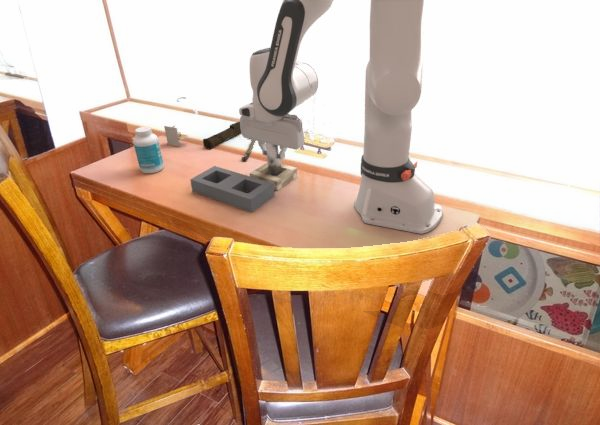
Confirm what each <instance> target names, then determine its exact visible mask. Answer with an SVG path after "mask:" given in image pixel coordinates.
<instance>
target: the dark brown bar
mask: <svg viewBox="0 0 600 425" xmlns="http://www.w3.org/2000/svg"><path fill="white" fill-rule="evenodd" d="M240 135H242V134H241V129H240V121H237V122H235V123H232V124H231V123H230V125H229V127H228V128H227V129H224V130H222V131H220V132H217V133H215V134H213V135H212V136H209V137H207V138H203V139H202V143H203V147H204V148H205V149H207V150H211V149H212V148H215V146H217V145H219V144H222V143H224V142H226V141H227V140H229V139H231V138H236V137H239V136H240Z"/></svg>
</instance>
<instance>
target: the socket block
mask: <svg viewBox="0 0 600 425" xmlns="http://www.w3.org/2000/svg"><path fill="white" fill-rule="evenodd" d="M281 167H282V173H281V174H279V175H276V176H273V175H269V173H268V163H267V162H266V163H264V164H262V165H260V166H259V167H258V168H256V169H254V170H253V171H251V172H250V173H249V176H250V177H253V178H257V179H260V180H263V181H267V182H270V183H273V184H274V191H279V190H281V189H282V188H283V187H285V186H286V185H288V184H289V183H291V182H292V181H293V180H295V179H296V178H297V177H298V167H295V166H292V165H288V164H285V163H281Z"/></svg>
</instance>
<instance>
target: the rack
mask: <svg viewBox="0 0 600 425" xmlns="http://www.w3.org/2000/svg"><path fill="white" fill-rule="evenodd" d="M189 182H190V185H191V190H192V193H194V194H198V195H201V196H204V197H206V198H209V199H212V200H216V201H218V202H221V203H222V204H223V203H224V204H227V205H230V206H232V207H234V208H238V209H241V210H242V211H243V210H244V211H246V212H249V213H253V212H255V211H256V210H258V209H259V208H260V207H262V206H263V205H264V204H266V203H267V202H268V201H270V200H272V198H274V197H275V190H274V184H273V183H270V182H267V181H263V180H260V179H257V178H253V177H250V175H247V174H243V173H240V172H236V171H234V170H233V171H232V170H231V169H230V170H229V169H226V168H223V167H220V166H216V165H214V166H212V167H210V168H209V169H206V170H204V171H203V172H201V173H199V174H198V175H195V176H194V177H192V178H191V179H190V180H189Z"/></svg>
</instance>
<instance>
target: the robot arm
mask: <svg viewBox="0 0 600 425" xmlns="http://www.w3.org/2000/svg"><path fill="white" fill-rule="evenodd" d="M333 2H334V0H282V3H281V6H280V9H279V11H278V15H277V17H276V18H277V19H276V22H275V26H274V31H273V34H272V38H271V44H270V47H266V48H262V49H258V50H257V51H255V52H253V53H252V54H251V55H250V59H249V80H250V87H251V90H252V99H251V100H252V102H251V103H248V104H246V105H243V106H241V107H240V108H239V109H238V110H239V115H240V118H239V122H240V129H241V134H240V135H242V137H243V138H245V139H250V140H256V142H257V143H258V144H257V145H258V146H259V147H260V149H261V152H262V154H261V155H263V156H265V157H267V153H266V143H270V144H274V145H278V146H279V149H280V152H279V153H277V156H278V157H277V158H278V159H281V161H282V160H284V159H285V158H286V154H285V153H286V151H287V149H291V150H295V151H296V150H299V149H300V148H302V147H303V146H304V144H305V136H304V135H305V134H304V128H303V121H302V119H301V118H300V117H298V115H296V114H291V113H290V112H292V111H293V110H294V109H295V108H297V107H298V106H300V105H301V104H303V103H304V102H306V101H307V100H308V99H310V98H311V97H313V96H314V95H315V94H316V93H317V90H318V87H319V79H318V75H317V72H316V71H315V69H314V68H313V67H312V66H311V65H310V64H308V63H306V62H300V61H299V60H297V58H298V55H299V50H300V47H301V46H300V45H301V43H302V40H303V38H304V36H305V34H306V33H307V32H308V30H309V29H310V27H312V26H313V24H314V23H316V21H317V20H318V19H319V18H321V17H322V16H323V15H324V14H325V13H326V12H328V10H329V9H330V8H331V7H332V4H333ZM426 2H427V0H370V12H369V61H368V62H367V65H366V68H365V79H364V80H365V84H364V86H365V89H364V131H363V132H364V135H363V153H362V155H361V160H360V175H361V178H360V185H359V189H358V193H357V196H356V199H355V201H354V208H355V211H356V212H357V213H358V214H359V215H360V216H361V221H362V222H363V223H365V224H369V225H373V226H378V227H379V226H380V227H384V228H389V229H394V230H400V231H405V232H410V233H415V234H420V235H421V234H427V233H428V232H430V231H432V230H433V229H435V228H436V227H437V226H438V225H439V223H440V222H441V220H442V218H443V208H442V206H441V205H440V204H438V203H435V194H434V191H433V189H432V188H431V187H430V186H429V185H427V184H426V182H424V181H423V180H422V179H421V178H420V177H419V176H418V175H417V174H416V173H415V172H416V168H417V166H418V161H416V162H414V163H413V162H412V161H411V159H410V148H411V139H412V128H413V126H412V110H413V109H414V108H415V107H416V106H417V104H418V103H419V100H420V98H421V95H422V85H423V84H422V81H423V80H422V78H423V65H424V63H423V62H424V21H425V11H426Z"/></svg>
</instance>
